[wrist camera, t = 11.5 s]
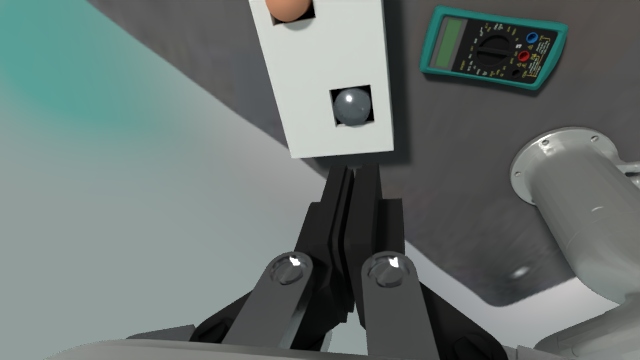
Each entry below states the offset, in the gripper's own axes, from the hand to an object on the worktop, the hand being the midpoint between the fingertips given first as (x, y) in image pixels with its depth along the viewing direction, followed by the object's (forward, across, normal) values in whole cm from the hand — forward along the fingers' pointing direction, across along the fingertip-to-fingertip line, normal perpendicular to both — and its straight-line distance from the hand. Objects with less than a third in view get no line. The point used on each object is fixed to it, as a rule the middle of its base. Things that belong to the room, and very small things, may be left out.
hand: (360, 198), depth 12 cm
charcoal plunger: (+34, +5, +8) cm, 35 cm away
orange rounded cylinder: (+33, +9, -5) cm, 35 cm away
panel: (+35, +7, +1) cm, 36 cm away
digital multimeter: (+36, -12, +4) cm, 38 cm away
